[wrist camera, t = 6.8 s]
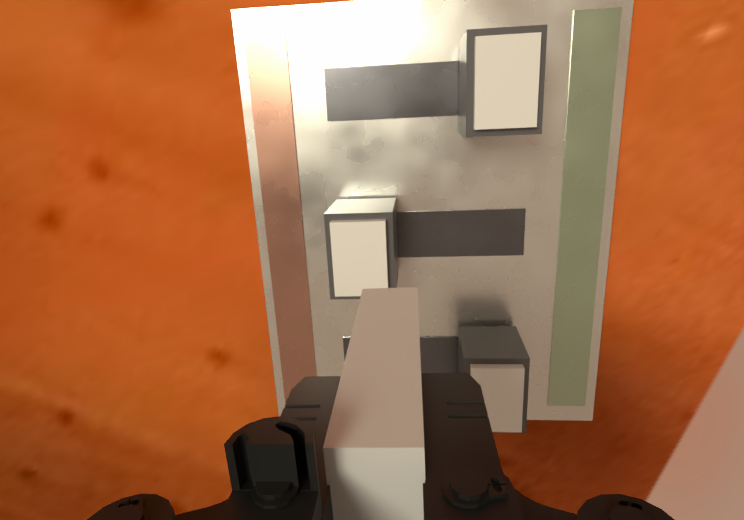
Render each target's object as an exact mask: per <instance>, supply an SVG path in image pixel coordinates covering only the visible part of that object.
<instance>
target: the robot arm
mask: <svg viewBox="0 0 744 520" xmlns="http://www.w3.org/2000/svg"><path fill="white" fill-rule="evenodd" d="M224 446H225V452H226V458H227V463H228V469H229V474H230V480H231V486H232V492H231V495H230V497H229V499H227V500H225V501H223V502H222V503H219V504H216V505H213V506H210V507H206V508H202V509H198V510H194V511H190V512H186V513H182V514H178V515H175V513H174V510H173V508H172V506H171V504H170V502H169V500H167V499H165V498H163V497H161V496H159V495H156V494H138V495H134V496H130V497H126V498H122V499H120V500H118V501H116V502H114V503H111V504H109V505H107V506H105V507H103V508H102V509H101V510H99V511H98V512H97V513H95V514H94V515H93V516H91V517H90V518H89V519H87V520H674V519H673V518H672V517H670V516H669V515H668V514H667V513H665V512H664V511H663V510H662V509H660V508H658V507H656V506H654V505H652V504H650V503H648V502H646V501H644V500H642V499H638V498H634V497H630V496H626V495H621V494H606V495H599V496H596V497H594V498H591V499H589V500H586V502H585V503H584V504H583V505H582V507H581V508H580V509H579V510H578V515H577V514H573V513H569V512H565V511H562V510H558V509H554V508H550V507H547V506H544V505H542V504H539V503H536V502H534V501H532V500H530V499H529V498H527V497H525V496H523V495H522V494H521V493H519V492H518V491H517V490H516V489H514V487H513V486H512V484H511V482H510V480H509V478H508V477H506V476H505V475H504V473H503V471H502V469H501V465H500V461H499V457H498V453H497V449H496V445H495V441H494V437H493V433H492V429H491V425H490V421H489V418H488V413H487V409H486V405H485V402H484V397H483V393H482V389H481V385H480V384H479V383H478V382H477V381H476V380H475V379H474V378H473V377H472V376H471V375H470V374H469V373H468V372H459V373H421V358H420V336H419V313H418V290H417V287H404V288H371V289H362V293H361V297H360V301H359V305H358V309H357V314H356V318H355V322H354V326H353V330H352V334H351V338H350V342H349V346H348V350H347V354H346V358H345V362H344V366H343V370H342V374H341V376H308V377H305V378H304V379H303V380H301V381H300V382H299V383H298V384H297V385H296V386H295V387H294V388H293V389H291V392H290V394H289V396H288V399H287V401H286V404H285V408H284V409H283V411H282V413H281V416H280V417H272V418H264V419H261V420H258V421H255V422H252V423H249V424H247V425H245V426H244V427H242V428H241V429H239V430H238V431H236V432H235V433H233V434H232V435H231V437H230V438H229V439H228V440H227V442H226V443H225V444H224Z"/></svg>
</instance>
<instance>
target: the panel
mask: <svg viewBox="0 0 744 520" xmlns="http://www.w3.org/2000/svg"><path fill="white" fill-rule="evenodd" d="M633 3H634V0H360V1H346V2H332V3H317V4H303V5H289V6H275V7H261V8H247V9H233V10H231V14H232V22H233V31H234V39H235V48H236V56H237V65H238V73H239V81H240V90H241V98H242V107H243V115H244V124H245V132H246V141H247V149H248V158H249V166H250V174H251V183H252V191H253V200H254V208H255V217H256V225H257V234H258V242H259V251H260V259H261V267H262V276H263V284H264V293H265V301H266V310H267V318H268V327H269V335H270V344H271V352H272V361H273V369H274V377H275V386H276V394H277V403H278V411H279V416H281V413H282V411H283V409H284V408H285V404H286V401H287V399H288V396H289V394H290V392H291V389H293V388H294V387H295V386H296V385H297V384H298V383H299V382H300V381H301V380H303V379H304V378H305V377H308V376H341V374H342V370H343V366H344V362H345V358H346V354H347V350H348V346H349V342H350V338H351V334H352V330H353V326H354V322H355V318H356V314H357V309H358V305H359V301H360V299H332V300H330V289H329V276H328V263H327V250H326V237H325V224H324V213H325V212H326V211H327V210H328V209H329V207H330V206H331V205H332V204H333V203H334V202H335V201H336V200H338V199H371V198H396V211H397V241H398V272H399V274H398V283H397V288H404V287H417V290H418V313H419V336H420V358H421V373H458V326H516V328H517V330H518V332H519V335H520V337H521V339H522V341H523V344H524V346H525V348H526V351H527V353H528V355H529V357H530V368H529V387H528V405H527V420H577V421H592V420H593V410H594V400H595V390H596V380H597V369H598V359H599V349H600V339H601V329H602V318H603V308H604V298H605V288H606V278H607V268H608V257H609V247H610V237H611V227H612V217H613V206H614V196H615V186H616V176H617V166H618V156H619V145H620V135H621V125H622V115H623V105H624V94H625V84H626V74H627V64H628V54H629V43H630V33H631V23H632V13H633ZM547 24H548V26H547V45H546V64H545V83H544V102H543V121H542V134H532V135H508V136H485V137H464V136H463V135H461V134H460V133H459V41H460V39H461V38H462V36H463V35H464V33H465V31H466V30H468V29H484V28H500V27H516V26H531V25H547Z"/></svg>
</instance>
